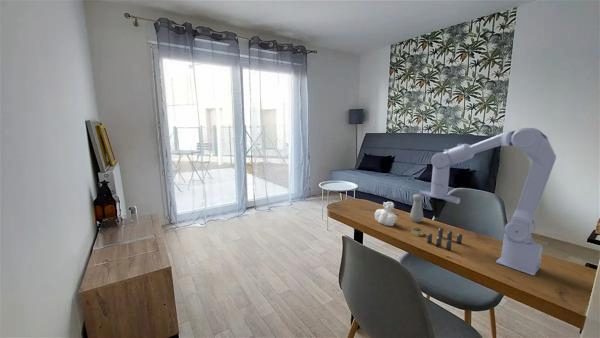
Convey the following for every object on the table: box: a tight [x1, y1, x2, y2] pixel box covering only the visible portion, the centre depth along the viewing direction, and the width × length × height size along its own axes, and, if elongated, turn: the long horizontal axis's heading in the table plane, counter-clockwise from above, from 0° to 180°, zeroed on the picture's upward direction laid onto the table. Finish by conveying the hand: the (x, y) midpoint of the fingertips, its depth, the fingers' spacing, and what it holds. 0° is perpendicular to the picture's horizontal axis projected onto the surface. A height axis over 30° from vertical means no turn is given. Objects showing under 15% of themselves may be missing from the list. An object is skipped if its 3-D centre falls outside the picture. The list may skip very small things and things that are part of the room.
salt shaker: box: [409, 193, 424, 223], centre depth 120 cm, size 6×6×13 cm
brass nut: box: [410, 227, 424, 237], centre depth 106 cm, size 5×4×2 cm
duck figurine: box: [374, 201, 398, 227], centre depth 117 cm, size 12×8×11 cm
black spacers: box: [426, 227, 463, 252], centre depth 97 cm, size 9×11×4 cm
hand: (436, 217), depth 99 cm, fingers closed
